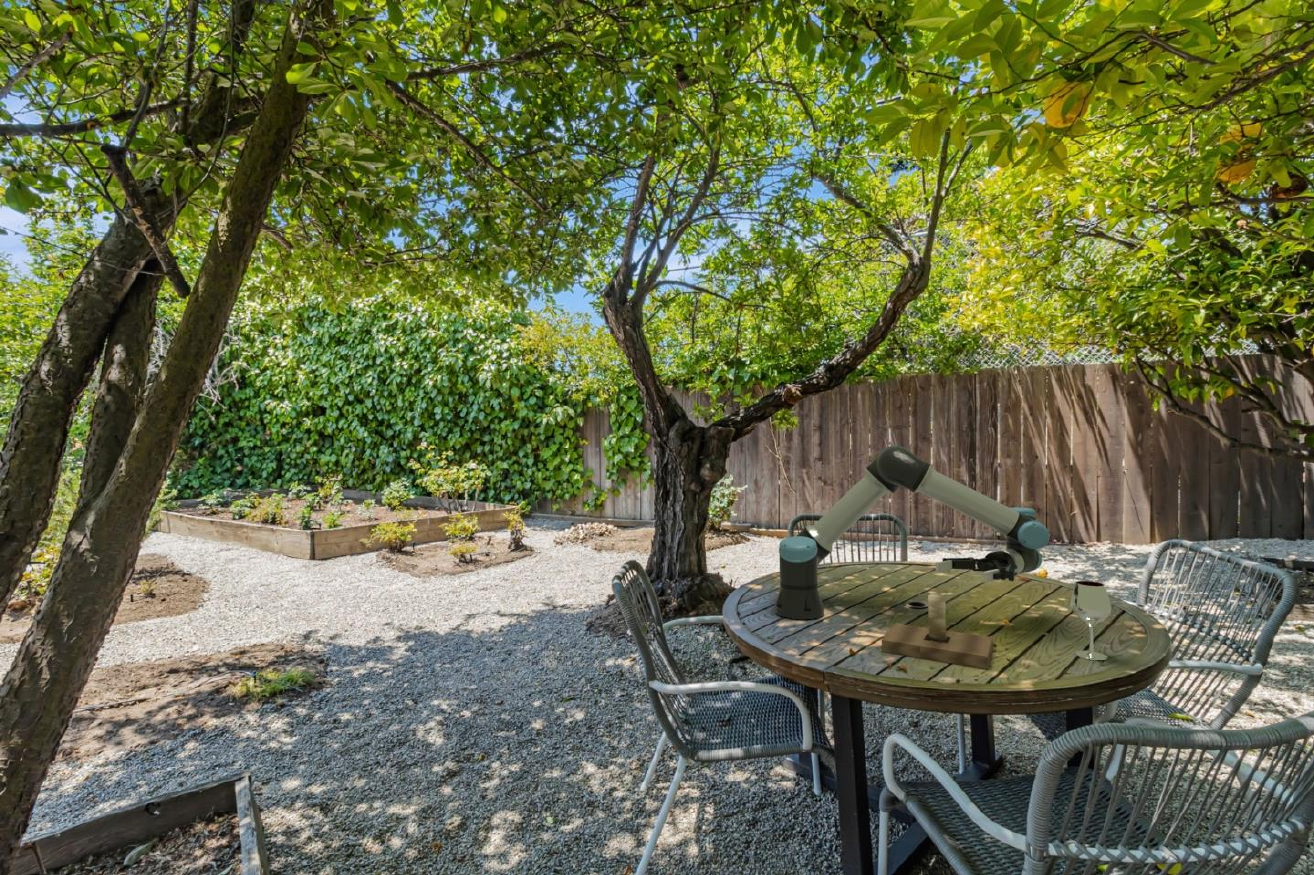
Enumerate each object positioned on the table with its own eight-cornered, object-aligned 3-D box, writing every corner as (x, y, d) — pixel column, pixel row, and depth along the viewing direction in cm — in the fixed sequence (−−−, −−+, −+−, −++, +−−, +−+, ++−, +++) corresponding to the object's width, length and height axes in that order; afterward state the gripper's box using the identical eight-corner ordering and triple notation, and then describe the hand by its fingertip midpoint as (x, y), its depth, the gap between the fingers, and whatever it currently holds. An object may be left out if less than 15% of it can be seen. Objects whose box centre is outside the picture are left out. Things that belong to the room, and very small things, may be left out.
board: (881, 651, 153) (881, 639, 153) (895, 633, 166) (894, 623, 166) (987, 669, 139) (987, 656, 139) (992, 648, 153) (992, 637, 153)
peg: (927, 651, 152) (926, 596, 152) (930, 646, 156) (929, 593, 156) (945, 654, 150) (944, 599, 150) (947, 649, 153) (946, 595, 153)
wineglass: (1114, 655, 146) (1112, 582, 147) (1110, 665, 140) (1108, 589, 141) (1074, 648, 152) (1072, 578, 152) (1069, 657, 146) (1067, 584, 146)
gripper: (1049, 585, 162) (1006, 596, 151) (962, 568, 183) (919, 576, 172) (1049, 558, 162) (1006, 567, 151) (962, 544, 183) (919, 551, 172)
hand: (959, 572), depth 161 cm, fingers open, 13 cm apart
